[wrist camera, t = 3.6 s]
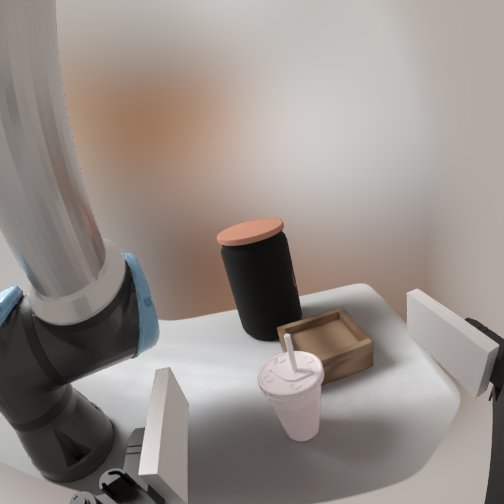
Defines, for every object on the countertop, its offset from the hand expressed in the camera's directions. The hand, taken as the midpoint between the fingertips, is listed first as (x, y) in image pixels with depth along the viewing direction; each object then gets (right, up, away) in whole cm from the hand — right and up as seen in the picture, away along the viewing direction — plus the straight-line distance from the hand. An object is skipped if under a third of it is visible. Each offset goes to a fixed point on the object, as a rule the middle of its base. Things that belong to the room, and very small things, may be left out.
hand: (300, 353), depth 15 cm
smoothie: (+3, -15, +15) cm, 22 cm away
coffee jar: (+1, -8, +39) cm, 39 cm away
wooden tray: (+8, -10, +27) cm, 29 cm away
